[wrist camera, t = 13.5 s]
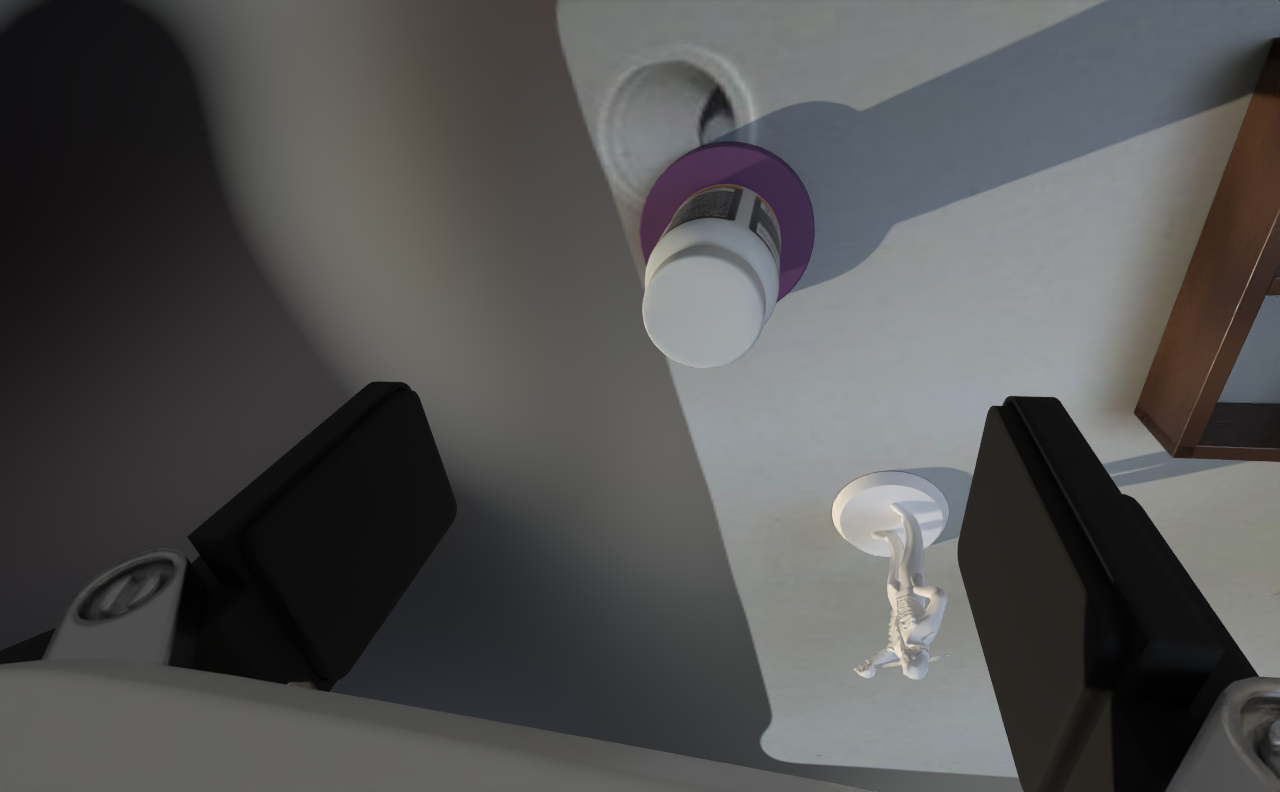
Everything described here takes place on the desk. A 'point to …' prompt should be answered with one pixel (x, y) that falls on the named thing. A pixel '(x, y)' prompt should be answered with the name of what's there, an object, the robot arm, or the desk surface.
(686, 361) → the pill bottle
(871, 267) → the desk surface
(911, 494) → the figurine
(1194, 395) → the rack
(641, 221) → the disc
